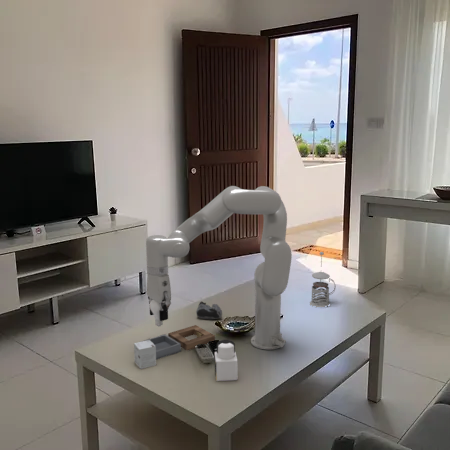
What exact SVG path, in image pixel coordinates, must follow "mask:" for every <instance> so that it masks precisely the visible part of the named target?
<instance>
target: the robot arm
mask: <svg viewBox="0 0 450 450" xmlns="http://www.w3.org/2000/svg"><path fill="white" fill-rule="evenodd" d="M233 214H236V215H237V214H238V215H262V216H263V227H262V233H261V240H260V244H259V245H260V247H259V251H260V253H261V255H262V257H263V258H264V261H263V262H261V263H260V264H258V265H257V266H256V268H255V269H254V270H255V271H254V276H253V280H254V292H255V301H254V302H255V305H254V306H255V307H254V309H255V311H254V313H255V316H254V317H255V319H254V322H255V323H254V332H255V333H254V335H253V336H252V337H251V338H250V343H251V345H252V346H254V348H257V349H261V350H267V351H268V350H271V351H272V350H276V349H280V348H284V346H285V345H286V343H287V340H286V339H284V338H283V333H281V304H282V295H281V294H283V293H284V291H286V289H287V286H288V283H289V279H290V272H291V265H292V258H293V257H292V250H291V249H292V248H291V246H290V244H289V243H288V242H287V241H286V235H287V226H288V225H287V224H288V214H287V210H286V207H285V203H284V202H283V200H282V197H281V195H280V194H279V193H278V192H277V191H276V190H274V189H272V188H270V187H269V186H266V185H265V186H264V185H260V186H258V187H257V188H255V189H243V188H241V187H238V186H236V185H230V186H227V187H226V188H225V189H224V190H222V191H221V192H220V193H219V194H217V196H215V197H214V198H213V199H212V200H211V201H209V203H207V204H206V205H205V206H203V208H201V209H200V210H199V211H198V212H196V213H194V214H192V216H190V217H189V218H187V219H185V221H184V222H182V223H181V224H180V225H179V226H178V227H176V228H175V229H174V230H173V231H172V232H171V233H170V234H169V236H168V237H166V236H165V235H161V234H160V235H159V234H153V235H150V236H148V237H147V238H146V240H145V247H146V250H145V252H146V276H147V277H146V291H145V292H146V295H147V299H148V304H149V305H150V302H151V301H152V299H153V300H155V301H156V302H158V303H159V305H160V310H159V313H160V321H168V319H169V310H170V306H171V305H172V302H171V301H172V289H171V288H172V287H171V280H170V276H169V258H175V259H176V258H177V259H178V258H179V259H180V258H184V257H186V256H187V255H188V254H189V251H190V243H191V242H193V241H194V240H195V239H197V237H198V236H200V235H201V234H204V233H205V232H208V231H213V230H215V229H217V228H218V227H219V226H221V224H223V223H224V222H225V221H226V220H227V219H228V218H229V217H231V216H232V215H233ZM162 300H164V301H162ZM162 303H165V305H163V306H162ZM149 315H150V316H154V314H153V313H152V311H151V310H150V309H149Z"/></svg>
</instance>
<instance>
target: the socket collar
mask: <svg viewBox="0 0 450 450" xmlns="http://www.w3.org/2000/svg"><path fill="white" fill-rule="evenodd" d="M167 336H169V337H170V338H172V339H174V340H175V341H177V342H179V343H180V344H181V349H183V350H185V351H186V352H188V351H191V350H194V349H196V348H195V346H196V345H198V344H206V345H208V344H207V343H208V342H209V341H214V340H215V341H216V335H215V334H213V333H211V332H209V331H208V330H206V329H204V328H203V327H200V326H199V325H196V324H194V325H191V326H189V327H188V326H187V327H185V328H181V329H178V330H174V331H171V332H169V333H167ZM191 336H195V338H192V339H187V338H189V337H191Z"/></svg>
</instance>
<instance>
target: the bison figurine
mask: <svg viewBox="0 0 450 450" xmlns="http://www.w3.org/2000/svg"><path fill="white" fill-rule="evenodd" d="M195 313H196V316H197V318H199V319H203V320H217V319H220V318H222V316H223V311H222V308H221V307H220V306H219V305H218V304H216V303H214V304H213V303H212V305H211V306H210V305H209V304H207V302H203V301H202V300H201V301H200V302H199V304H198V307H197V309H196V311H195Z"/></svg>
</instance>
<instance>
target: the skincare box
mask: <svg viewBox="0 0 450 450" xmlns="http://www.w3.org/2000/svg"><path fill="white" fill-rule="evenodd" d="M146 340H147V339H146ZM133 347H134V348H133V349H134V350H133V351H134V352H133V353H134V363H135V364H136V365H137V366H138V368H139V369H140V370H142V369H146V368H150V367H154V366H157V360H156V346H155V345H154V344H153V342H151V341H150V340H147V341H144V340H142V342H141V341H138V342H134V343H133Z"/></svg>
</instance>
